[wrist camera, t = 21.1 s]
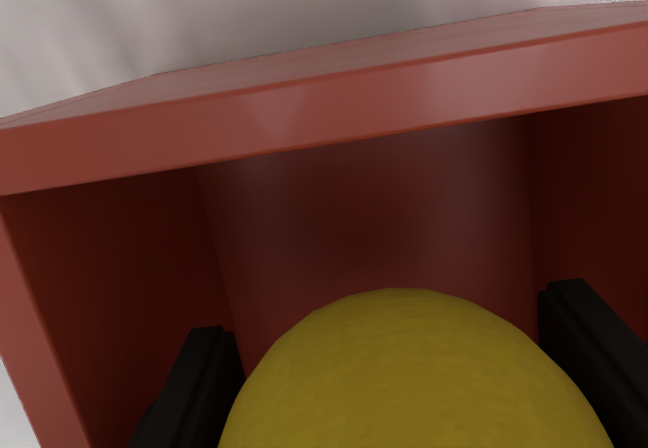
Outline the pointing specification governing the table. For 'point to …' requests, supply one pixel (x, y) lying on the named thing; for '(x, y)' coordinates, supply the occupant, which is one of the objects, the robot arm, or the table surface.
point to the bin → (317, 198)
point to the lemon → (409, 382)
